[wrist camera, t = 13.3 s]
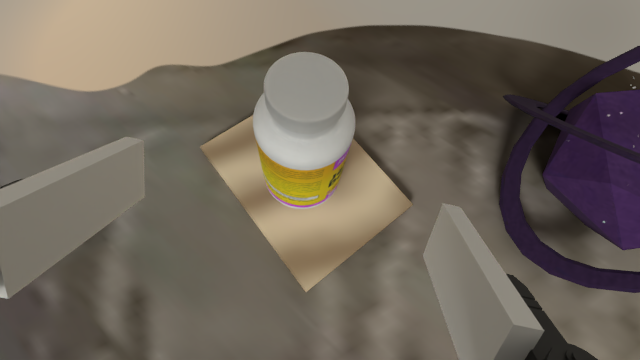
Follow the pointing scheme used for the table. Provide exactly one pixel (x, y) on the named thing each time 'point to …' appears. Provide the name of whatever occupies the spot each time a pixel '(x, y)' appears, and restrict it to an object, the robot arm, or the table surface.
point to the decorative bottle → (583, 173)
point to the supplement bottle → (303, 128)
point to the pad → (315, 223)
